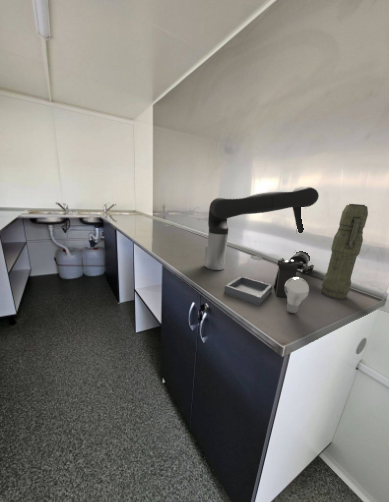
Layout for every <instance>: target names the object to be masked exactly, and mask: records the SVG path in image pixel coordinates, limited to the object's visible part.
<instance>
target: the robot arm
mask: <svg viewBox="0 0 389 502" xmlns="http://www.w3.org/2000/svg"><path fill="white" fill-rule="evenodd" d="M319 196H320V195H319V192H318V190H317V189H316V188H314V187H311V186H298V187H295V188H294V189H293V190H292V191H266V192H259V193H254V194H251V195H248V196H245V197H239V198H238V197H237V198H225V197H217V198H214V199H213V200H211V203H210V204H209V209H208V221H207V222H208V223H207V225H208V235H207V242H206V243H207V245H206V246H205V248H204V258H203V267H205V268H206V269H208V270H213V271H222V270H224V268H225V262H226V255H227V246H228V238H229V237H228V235H229V227H228V219H231V218H234V217H238V216H243V215H253V214H265V213H270V212H275V211H281V210H284V209H285V210H286V209H290V208H292V210H293V216H294V221H295V227H296V226H297V229H298V232H299V233H302V232H303V230H304V228H303V224H302V219H301V207H305V208H306V207H307V208H309V207H311V206H313V205H315V204H316V203H317V201H318V200H319ZM297 229H296V230H297ZM309 261H310V256H309V255H308V253H306V252H303V251H299V252H296V254H295V255H294V254H293V256H291V258H289V259H286V260H285V258H284V257H283V258H282V257H281V258H280V259H278V261H277V263H276V265H277V267H279V263H280V262H285V263H292V264H297V265H298V268H297V272H301V275H306V274H307V273H309V274H310V275H312V274H313V271H314V267H315V265H314V264H310V265H309V263H310V262H309Z"/></svg>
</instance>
